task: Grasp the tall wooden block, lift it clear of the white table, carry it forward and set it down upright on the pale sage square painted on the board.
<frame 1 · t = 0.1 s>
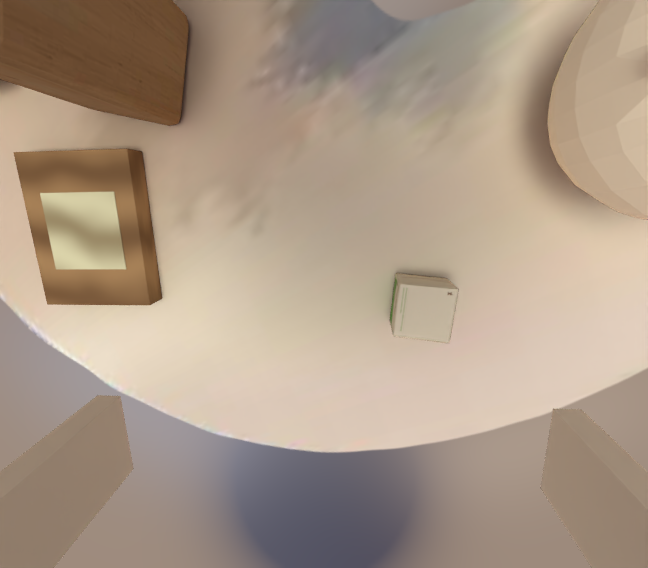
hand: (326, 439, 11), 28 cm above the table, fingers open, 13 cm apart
wooden block: (141, 66, 35), on the table
board: (101, 229, 39), on the table
pitcher: (612, 114, 32), on the table
small box: (416, 299, 38), on the table
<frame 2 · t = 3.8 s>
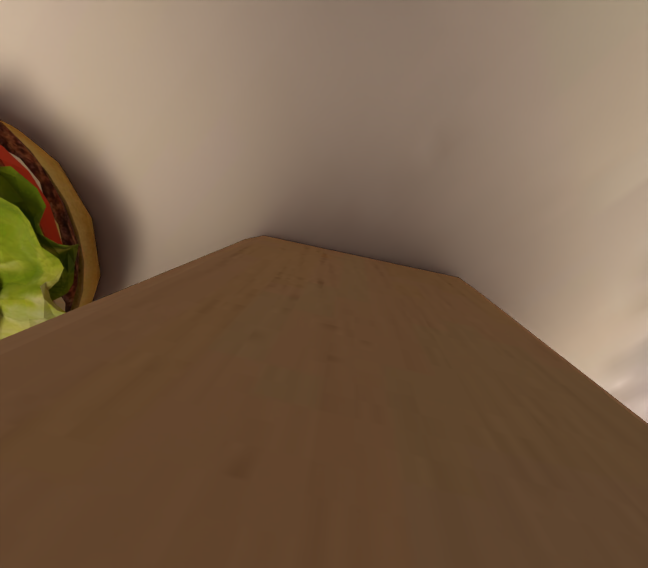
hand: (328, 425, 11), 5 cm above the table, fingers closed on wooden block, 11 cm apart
wooden block: (336, 354, 17), on the table, touching gripper
food: (1, 251, 17), on the table
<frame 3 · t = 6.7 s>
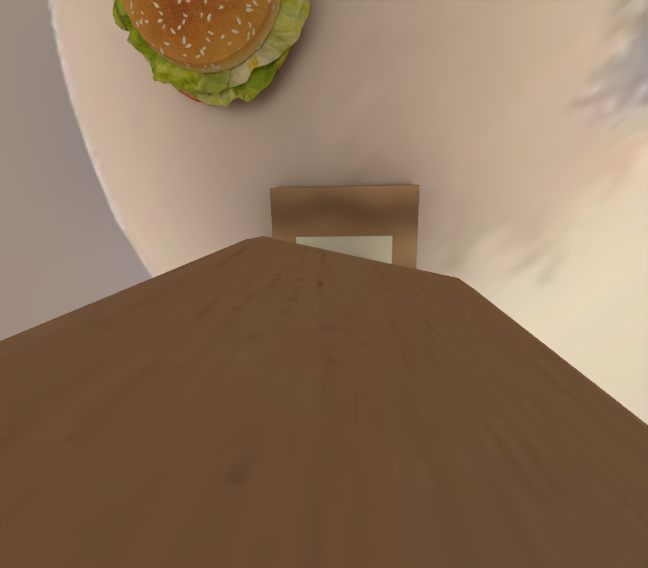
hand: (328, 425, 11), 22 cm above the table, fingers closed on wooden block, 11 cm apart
wooden block: (335, 355, 16), point 17 cm above the table, touching gripper
food: (232, 24, 28), on the table
board: (344, 276, 33), on the table
when the fingers open (9 cm above the table, at t = 9.6 s): wooden block drops 1 cm, resting on board.
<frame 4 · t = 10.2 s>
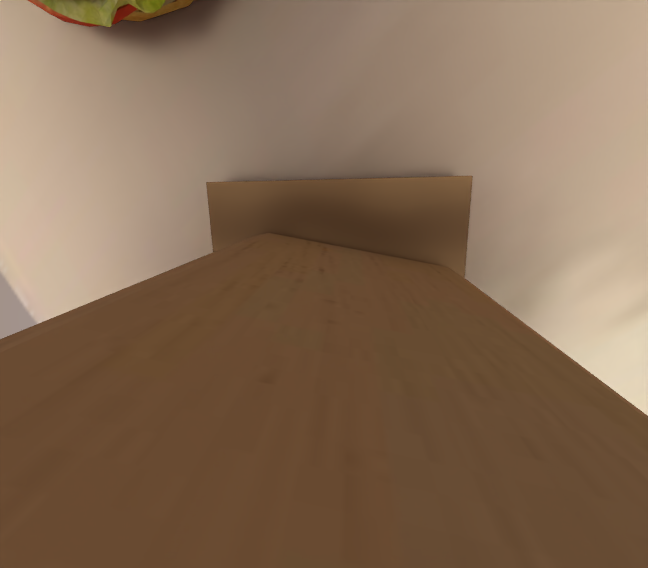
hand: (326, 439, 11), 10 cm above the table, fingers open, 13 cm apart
wooden block: (337, 342, 18), point 2 cm above the table, touching board
board: (339, 325, 20), on the table
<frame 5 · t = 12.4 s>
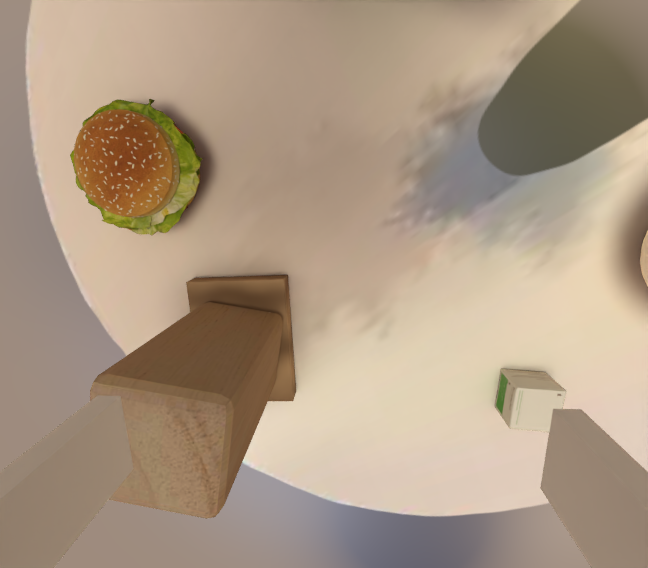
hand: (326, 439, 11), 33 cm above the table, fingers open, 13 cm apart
wooden block: (241, 342, 44), point 2 cm above the table, touching board
food: (158, 173, 42), on the table
board: (247, 336, 46), on the table
small box: (518, 388, 45), on the table
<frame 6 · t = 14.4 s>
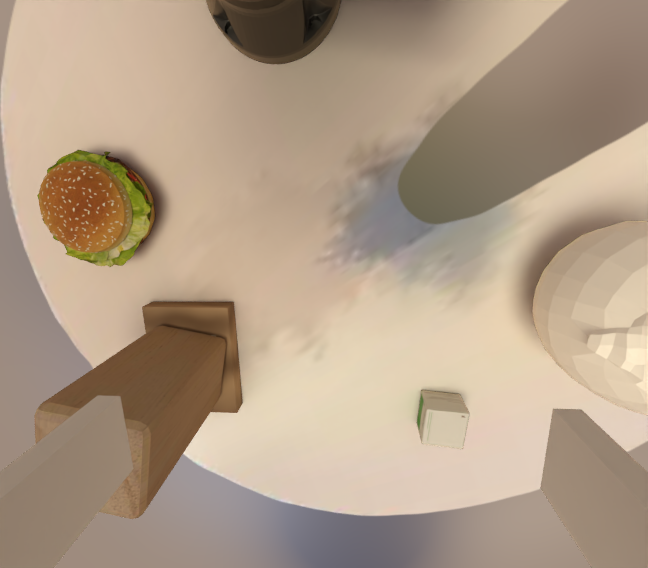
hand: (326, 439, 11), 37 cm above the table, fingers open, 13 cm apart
wooden block: (191, 360, 49), point 2 cm above the table, touching board
food: (119, 209, 48), on the table
board: (198, 353, 52), on the table
pitcher: (580, 288, 45), on the table
small box: (437, 407, 51), on the table
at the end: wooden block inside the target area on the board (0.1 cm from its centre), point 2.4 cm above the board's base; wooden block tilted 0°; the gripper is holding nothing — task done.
